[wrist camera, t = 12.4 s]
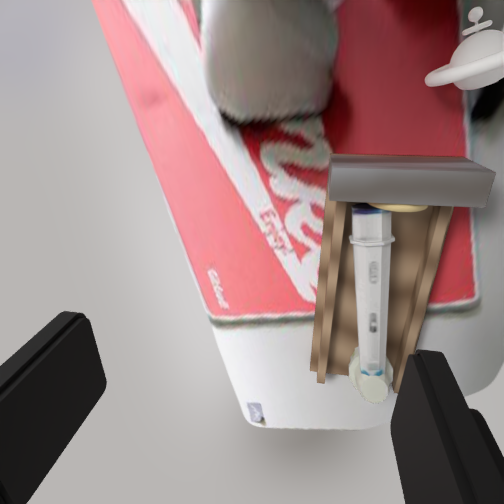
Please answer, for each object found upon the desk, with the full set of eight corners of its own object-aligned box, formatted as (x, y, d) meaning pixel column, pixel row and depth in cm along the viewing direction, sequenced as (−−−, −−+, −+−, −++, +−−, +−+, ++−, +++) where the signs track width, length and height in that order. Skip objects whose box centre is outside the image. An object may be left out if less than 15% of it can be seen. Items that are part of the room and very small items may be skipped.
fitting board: (329, 153, 36) (332, 167, 29) (463, 156, 33) (496, 172, 27) (310, 365, 49) (308, 406, 43) (404, 377, 47) (417, 421, 41)
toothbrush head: (402, 207, 32) (399, 420, 39) (389, 196, 38) (388, 381, 45) (345, 211, 33) (352, 417, 40) (341, 200, 39) (348, 380, 46)
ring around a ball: (417, 102, 32) (445, 107, 25) (406, 37, 30) (433, 22, 23) (514, 67, 30) (575, 61, 23) (509, -6, 28) (574, -37, 21)
